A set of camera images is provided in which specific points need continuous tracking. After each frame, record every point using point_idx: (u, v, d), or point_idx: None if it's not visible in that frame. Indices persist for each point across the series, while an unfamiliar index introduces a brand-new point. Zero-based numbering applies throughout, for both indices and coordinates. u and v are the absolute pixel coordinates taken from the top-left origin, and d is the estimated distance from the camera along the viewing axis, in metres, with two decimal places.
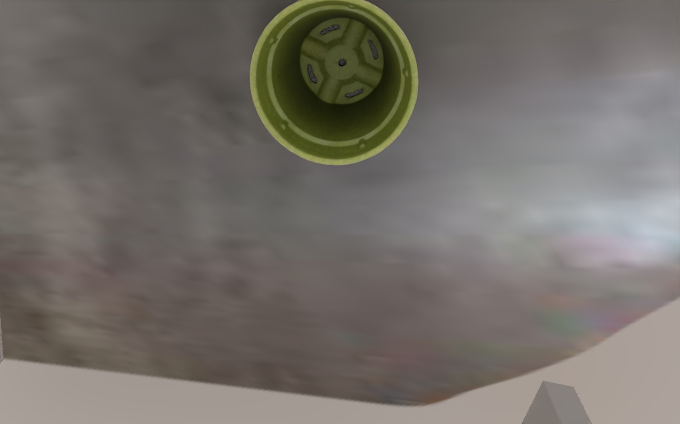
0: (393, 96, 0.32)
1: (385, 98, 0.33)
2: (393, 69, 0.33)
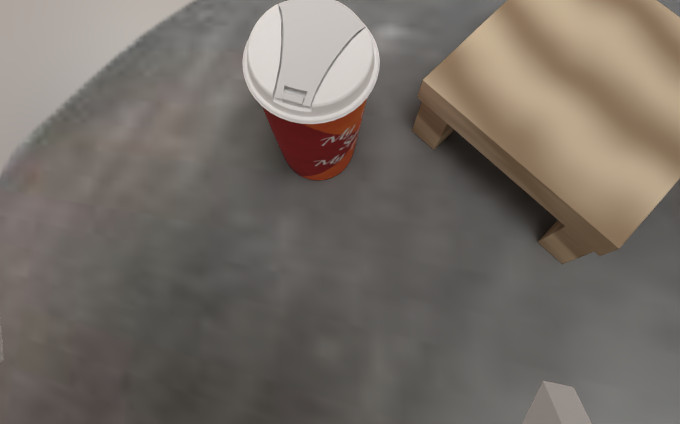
0: None
1: None
2: None
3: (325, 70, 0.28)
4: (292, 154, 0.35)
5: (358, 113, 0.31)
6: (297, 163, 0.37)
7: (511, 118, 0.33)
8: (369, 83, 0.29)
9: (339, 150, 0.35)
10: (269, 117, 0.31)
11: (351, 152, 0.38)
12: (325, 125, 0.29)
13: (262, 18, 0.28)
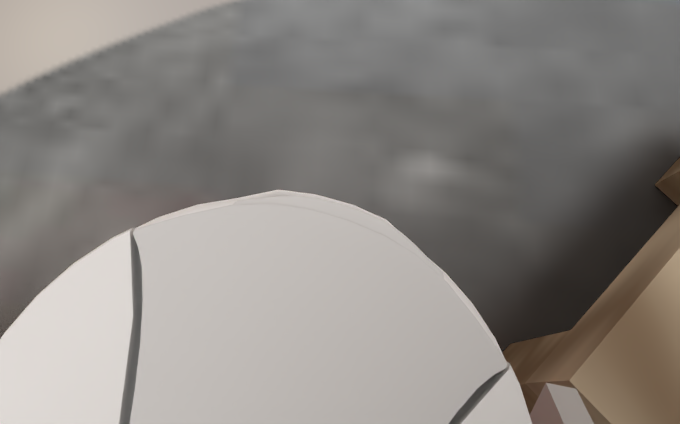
0: None
1: None
2: None
3: None
4: None
5: None
6: None
7: None
8: None
9: None
10: None
11: None
12: None
13: (46, 301, 0.06)
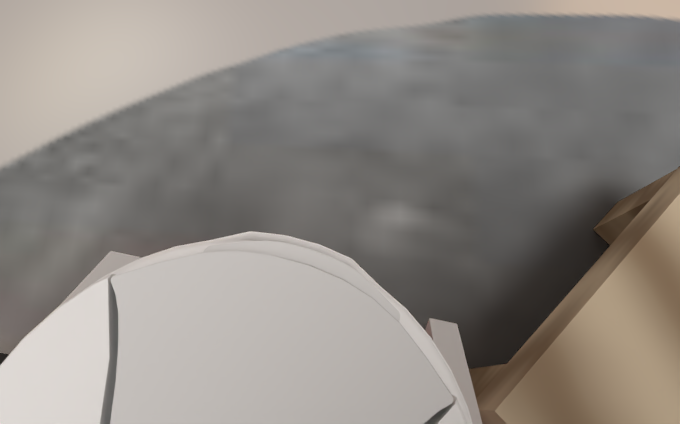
0: None
1: None
2: None
3: None
4: None
5: None
6: None
7: None
8: None
9: None
10: None
11: None
12: None
13: (30, 344, 0.07)
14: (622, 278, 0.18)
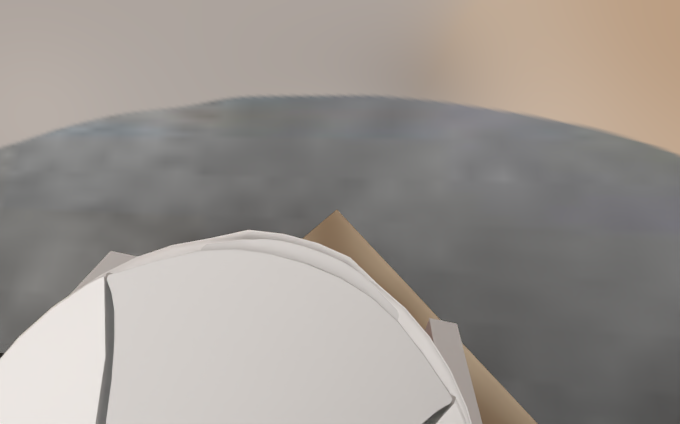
0: None
1: None
2: None
3: None
4: None
5: None
6: None
7: None
8: None
9: None
10: None
11: None
12: None
13: (26, 343, 0.07)
14: None
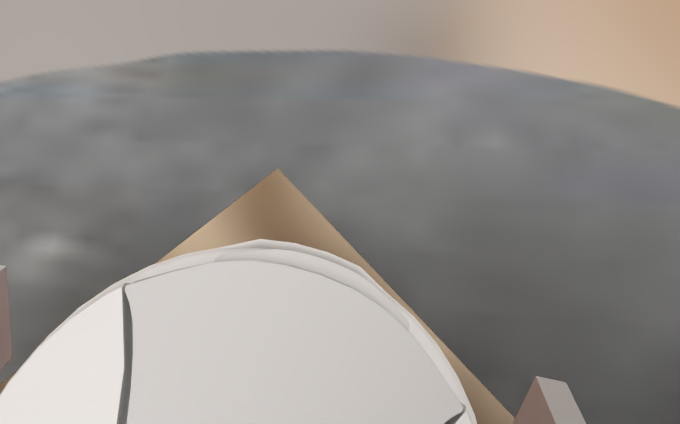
0: None
1: None
2: None
3: None
4: None
5: None
6: None
7: None
8: None
9: None
10: None
11: None
12: None
13: (45, 353, 0.07)
14: None
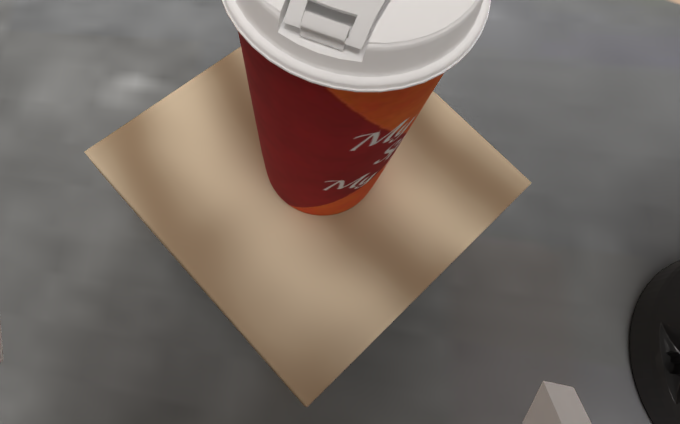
0: None
1: None
2: None
3: None
4: (288, 166, 0.20)
5: (430, 92, 0.16)
6: (292, 184, 0.22)
7: (196, 212, 0.25)
8: (475, 23, 0.14)
9: (373, 165, 0.20)
10: (259, 85, 0.16)
11: None
12: (377, 103, 0.15)
13: None
14: (201, 81, 0.27)
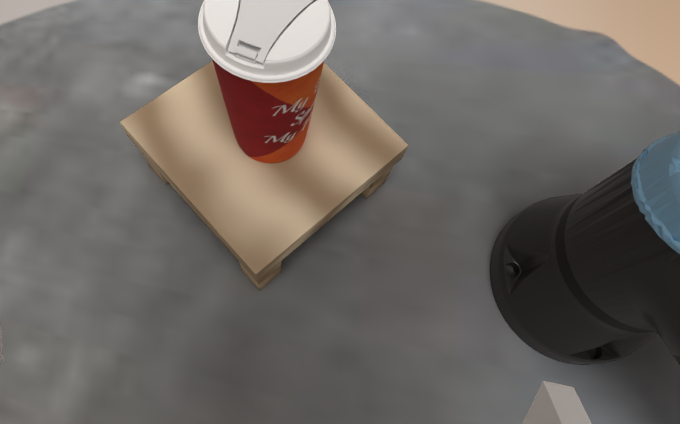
0: None
1: None
2: None
3: (281, 30, 0.28)
4: (242, 127, 0.35)
5: (311, 84, 0.31)
6: (247, 139, 0.37)
7: (190, 160, 0.39)
8: (324, 50, 0.29)
9: (290, 126, 0.35)
10: (221, 79, 0.31)
11: (303, 135, 0.38)
12: (277, 89, 0.29)
13: None
14: (194, 78, 0.42)
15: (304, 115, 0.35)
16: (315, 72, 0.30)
